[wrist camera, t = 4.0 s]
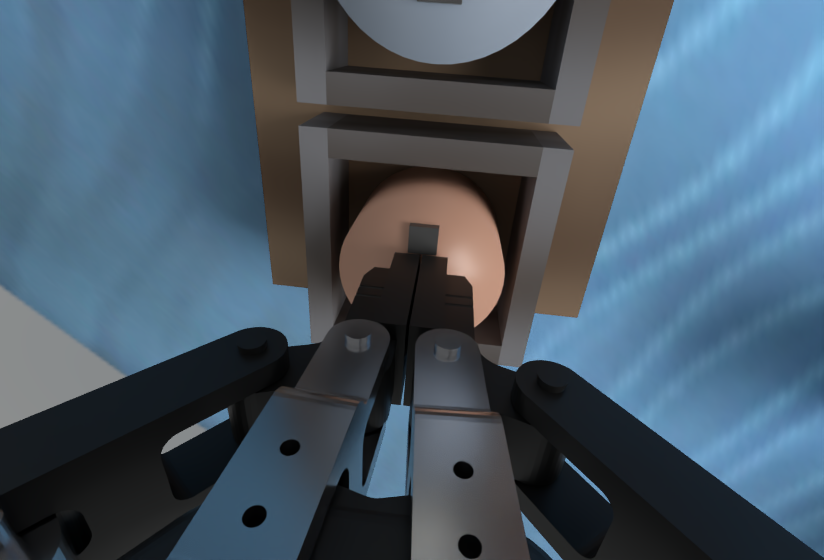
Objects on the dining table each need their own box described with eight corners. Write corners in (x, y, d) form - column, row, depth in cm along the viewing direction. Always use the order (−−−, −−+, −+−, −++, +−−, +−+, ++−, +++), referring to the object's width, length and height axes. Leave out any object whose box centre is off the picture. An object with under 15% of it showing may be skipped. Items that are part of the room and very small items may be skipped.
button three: (360, 159, 14) (335, 189, 11) (508, 173, 14) (520, 207, 11) (359, 286, 17) (338, 337, 14) (486, 300, 16) (490, 354, 14)
